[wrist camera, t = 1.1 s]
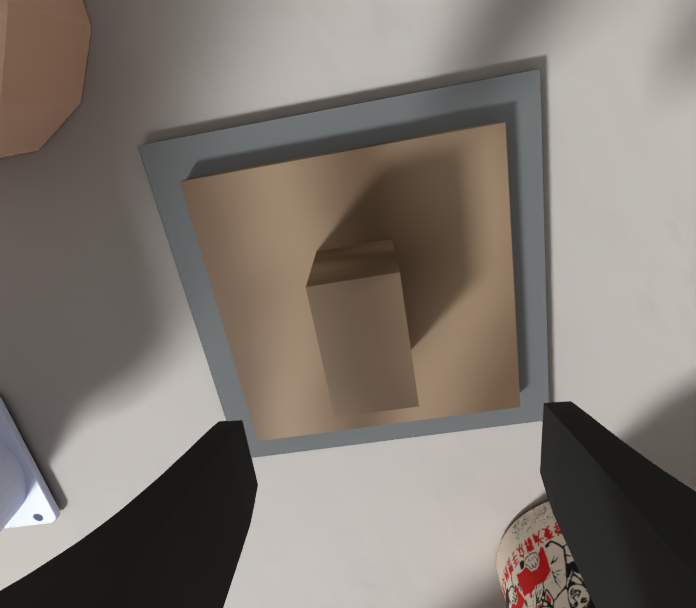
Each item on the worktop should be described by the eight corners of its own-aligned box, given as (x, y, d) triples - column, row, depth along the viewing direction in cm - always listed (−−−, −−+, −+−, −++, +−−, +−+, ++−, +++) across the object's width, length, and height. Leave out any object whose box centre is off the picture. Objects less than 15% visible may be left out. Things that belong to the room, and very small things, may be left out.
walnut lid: (261, 430, 24) (237, 507, 19) (187, 178, 19) (134, 202, 15) (515, 396, 22) (552, 469, 18) (499, 121, 18) (544, 128, 14)
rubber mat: (241, 452, 25) (238, 459, 24) (143, 144, 19) (137, 145, 19) (545, 413, 23) (549, 419, 23) (535, 69, 18) (540, 68, 17)
